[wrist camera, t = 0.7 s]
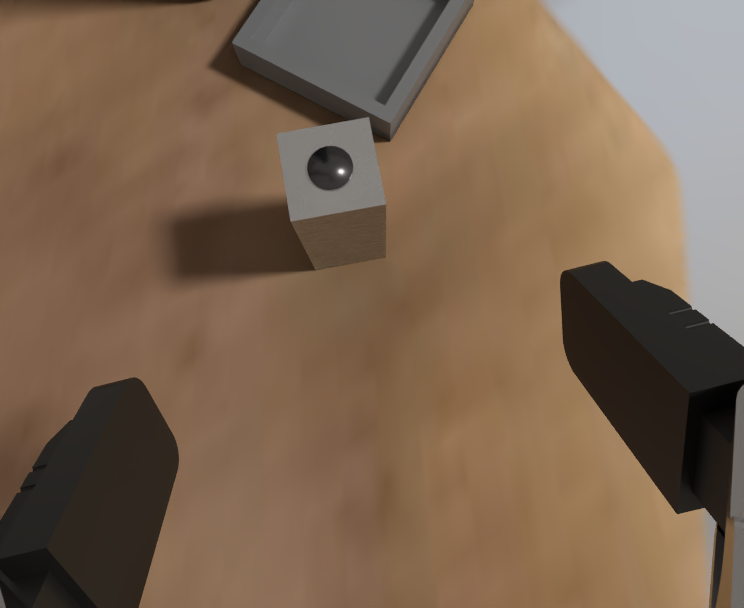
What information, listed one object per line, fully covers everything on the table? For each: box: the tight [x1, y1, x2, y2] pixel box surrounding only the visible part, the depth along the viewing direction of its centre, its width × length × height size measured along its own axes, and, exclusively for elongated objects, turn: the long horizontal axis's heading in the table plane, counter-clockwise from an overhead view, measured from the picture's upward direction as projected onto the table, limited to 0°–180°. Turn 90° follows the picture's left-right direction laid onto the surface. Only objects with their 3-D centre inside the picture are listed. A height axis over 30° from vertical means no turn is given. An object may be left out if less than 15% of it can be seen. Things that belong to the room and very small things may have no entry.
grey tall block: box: [277, 117, 386, 270], centre depth 33 cm, size 5×5×10 cm
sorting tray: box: [232, 0, 474, 141], centre depth 39 cm, size 13×13×2 cm
